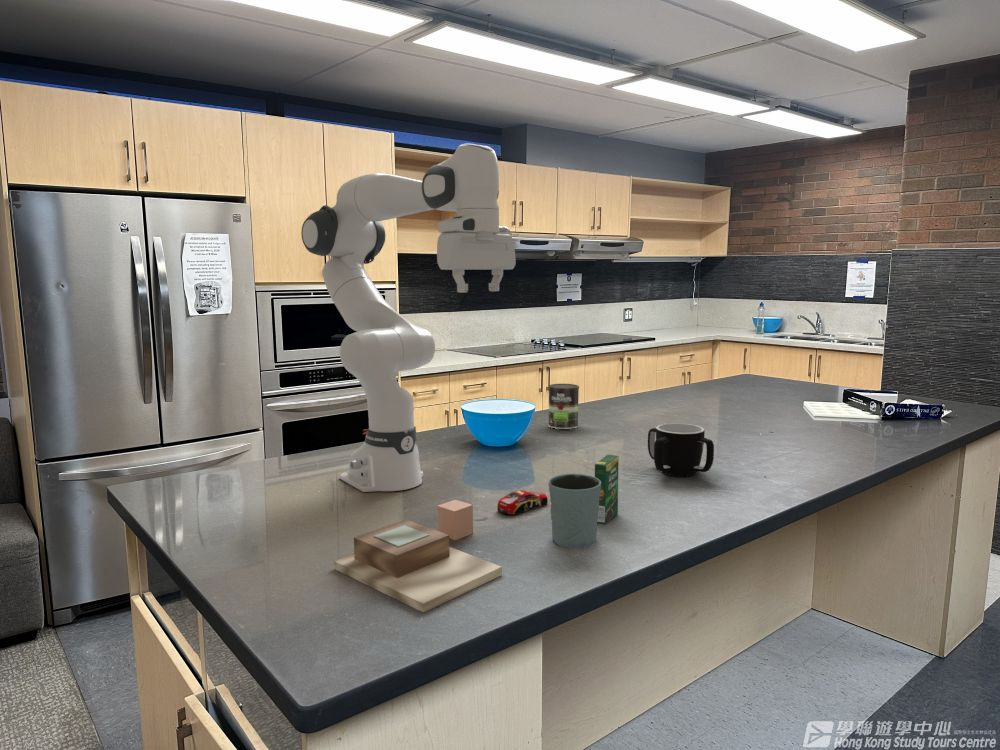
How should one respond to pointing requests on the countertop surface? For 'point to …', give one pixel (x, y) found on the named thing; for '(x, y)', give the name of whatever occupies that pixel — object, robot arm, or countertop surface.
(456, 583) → the build board
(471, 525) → the terracotta block
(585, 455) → the countertop surface
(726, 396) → the countertop surface
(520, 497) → the race car
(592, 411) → the countertop surface
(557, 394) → the coffee can
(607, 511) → the coffee box
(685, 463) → the mug
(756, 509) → the countertop surface
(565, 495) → the grey green cup
